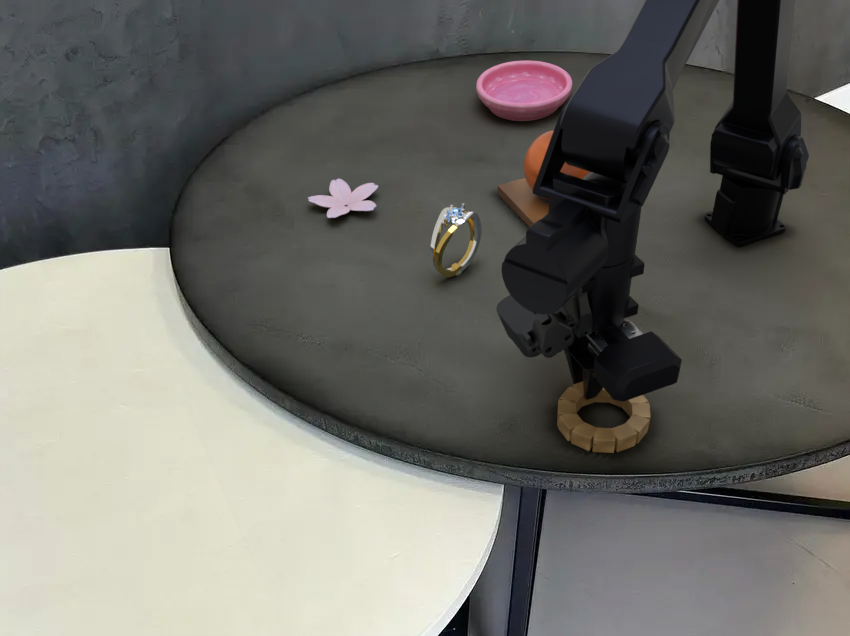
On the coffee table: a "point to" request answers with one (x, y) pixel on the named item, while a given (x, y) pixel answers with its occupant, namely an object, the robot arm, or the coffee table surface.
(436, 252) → the ring
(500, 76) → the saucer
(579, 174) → the ball stand
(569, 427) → the ring
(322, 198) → the flower
